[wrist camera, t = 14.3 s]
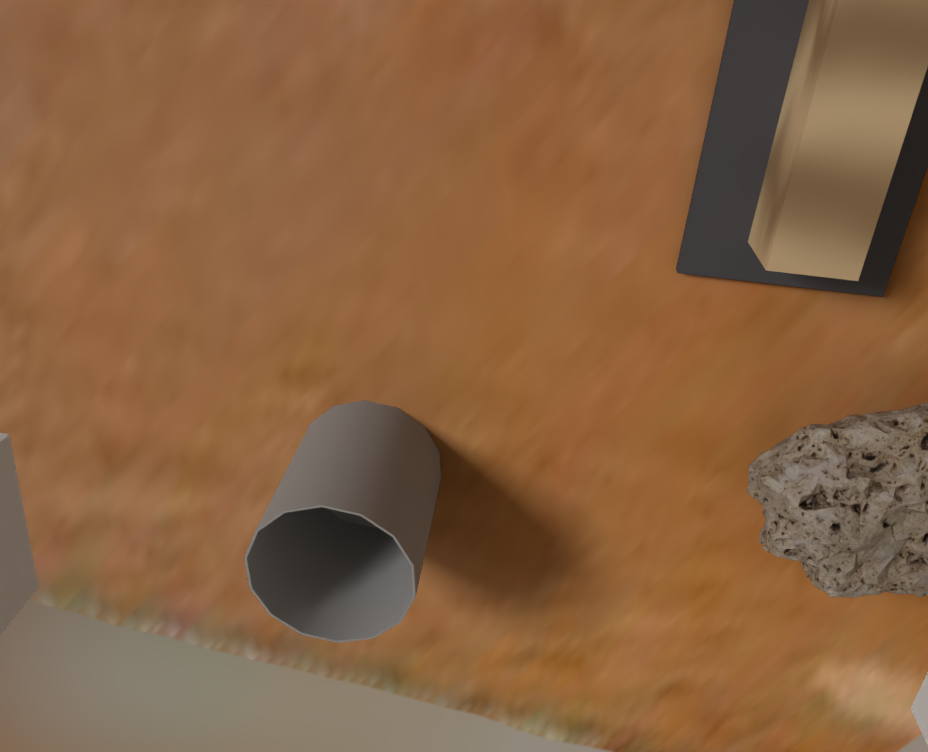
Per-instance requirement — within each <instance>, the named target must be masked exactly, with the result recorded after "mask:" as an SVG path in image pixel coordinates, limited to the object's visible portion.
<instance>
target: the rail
mask: <svg viewBox="0 0 928 752" xmlns="http://www.w3.org/2000/svg"><path fill="white" fill-rule="evenodd" d="M927 67H928V0H809V3H808V7H807V11H806V14H805V18H804V22H803V26H802V30H801V34H800V38H799V42H798V46H797V50H796V54H795V58H794V62H793V66H792V70H791V74H790V78H789V81H788V85H787V89H786V93H785V97H784V101H783V105H782V109H781V113H780V117H779V121H778V125H777V129H776V133H775V137H774V141H773V145H772V148H771V152H770V156H769V160H768V164H767V168H766V172H765V176H764V180H763V184H762V188H761V192H760V196H759V200H758V204H757V208H756V212H755V216H754V219H753V223H752V227H751V231H750V235H749V239H748V243H749V245H750V246H751V248H752V249H753V251H754V252H755V254H756V256H757V257H758V259H759V260H760V262H761V263H762V265H763V267H764V268H765V270H766V271H775V272H784V273H792V274H801V275H810V276H818V277H827V278H835V279H844V280H853V281H858V280H859V277H860V274H861V271H862V268H863V265H864V261H865V258H866V255H867V252H868V249H869V246H870V243H871V240H872V237H873V234H874V231H875V228H876V224H877V221H878V218H879V215H880V212H881V209H882V206H883V203H884V200H885V197H886V194H887V190H888V187H889V184H890V181H891V178H892V175H893V172H894V169H895V166H896V163H897V160H898V157H899V153H900V150H901V147H902V144H903V141H904V138H905V135H906V132H907V129H908V126H909V123H910V120H911V116H912V113H913V110H914V107H915V104H916V101H917V98H918V95H919V92H920V89H921V86H922V82H923V79H924V76H925V73H926V70H927Z"/></svg>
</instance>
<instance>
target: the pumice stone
mask: <svg viewBox="0 0 928 752" xmlns="http://www.w3.org/2000/svg"><path fill="white" fill-rule="evenodd" d="M748 479H749V485H748V487H747V489H746V490H747V492H748V493H749V494H750V496H751V497H752V498H754V499H756V500H757V501H758V502H759V503H760V504H761V505H762V506H763V515H764V517H765V523H764V527H763V528H762V529H761V531H760V539H759V542H760V543H761V544H763V547H762V548H763V549H765V550H766V551H767V552H770V553H772V554H773V555H774V556H778V557H783V558H787V559H792V560H796V561H801V563H802V566H803V569H804V570H805V571H806V574H807V578H808V577H809V576H810V580H811V583H812V584H813V585H814V586H816V587H817V588H818V589H820V590H822V591H824V592H826V593H827V594H828V596H829V597H853V598H855V597H859V596H863V595H878V594H880V593H883V592H885V591H886V592H891V593H895V594H916V595H917V597H921V596H924V595H928V402H927V403H925V404H921V405H914V406H912V407H910V408H907V409H905V410H902V411H896V410H895V411H885V412H876V413H869V414H865V415H862V416H859V415H857V414H854V415H851V416H847V417H845V418H844V419H843V420H839V421H836V422H835V423H833V424H829V425H822V424H814V425H809V426H806V427H804V428H801V429H799V430H797V431H796V433H794V434H793V435H791V436H789V437H787V438H786V439H784V440H783V441H781V442H779V443H778V444H776V445H775V446H774V447H773V448H771V449H770V450H768V451H765V452H763V453H761V454H760V455H759V456H758V457H757V458H756V459H755V460H754V462H753V463H752V464H750V465H749V474H748Z"/></svg>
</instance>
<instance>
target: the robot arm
mask: <svg viewBox="0 0 928 752" xmlns="http://www.w3.org/2000/svg"><path fill="white" fill-rule="evenodd" d="M37 589H38V583H37V577H36V572H35V567H34V562H33V556H32V551H31V546H30V540H29V535H28V530H27V525H26V519H25V514H24V509H23V504H22V498H21V493H20V488H19V482H18V477H17V472H16V467H15V461H14V456H13V451H12V446H11V440H10V435H9V434H4V433H0V635H1V634H2V632H3V631H4V630H5V629H6V627H7V626H8V625H9V624H10V622H11V621H12V620H13V619H14V617H15V616H16V615H17V614H18V612H19V611H20V610H21V609H22V607H23V606H24V605H25V604H26V602H27V601H28V600H29V599H30V598H31V596H32V595H33V594H34V593H35V591H36V590H37ZM911 710H912V712H913V715H914V717H915V719H916V721H917V723H918V725H919V728H920V730H921V732H922V734H923V736H924V738H925V741H926V743H927V745H928V673H927V675H926V677H925V679H924V681H923V683H922V686H921V688H920V690H919V692H918V694H917V696H916V698H915V700H914V703H913V705H912V707H911Z"/></svg>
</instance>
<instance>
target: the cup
mask: <svg viewBox="0 0 928 752" xmlns="http://www.w3.org/2000/svg"><path fill="white" fill-rule="evenodd" d="M440 481H441V471H440V452H439V450H438V449H437V447H436V445H435V444H434V442H433V440H432V438H431V437H430V435H429V433H428V432H427V430H426V428H425V427H424V426H423V425H422V424H420V423H419V422H417V421H416V420H414V419H413V418H412V417H410V416H409V415H407V414H406V413H404V412H403V411H402V410H400V409H399V408H396V407H392V406H388V405H383V404H379V403H374V402H370V401H366V400H364V401H359V402H353V403H348V404H342V405H336V406H333V407H332V408H330V409H329V410H328V411H326V412H325V413H324V414H322V415H321V416H320V417H318V418H317V419H316V420H314V421H313V422H312V423H311V424H310V426H309V427H308V429H307V431H306V433H305V435H304V437H303V439H302V441H301V443H300V445H299V447H298V449H297V451H296V453H295V455H294V457H293V459H292V461H291V463H290V465H289V467H288V468H287V470H286V472H285V474H284V476H283V478H282V480H281V482H280V484H279V486H278V488H277V490H276V492H275V494H274V496H273V498H272V500H271V502H270V504H269V506H268V507H267V509H266V511H265V513H264V515H263V517H262V519H261V521H260V523H259V525H258V527H257V529H256V531H255V533H254V536H253V538H252V541H251V543H250V545H249V548H248V550H247V552H246V555H245V557H244V559H245V565H246V571H247V576H248V582H249V588H250V589H251V591H252V592H253V593H254V595H255V596H256V597H257V599H258V600H259V601H260V603H261V604H262V605H263V607H264V608H265V609H266V610H267V612H268V613H269V614H270V616H272V617H274V618H275V619H277V620H279V621H280V622H282V623H283V624H285V625H287V626H288V627H290V628H292V629H293V630H295V631H297V632H298V633H300V634H301V635H306V636H310V637H315V638H319V639H323V640H328V641H332V642H337V643H340V642H348V641H357V640H365V639H373V638H375V637H377V636H378V635H380V634H382V633H383V632H385V631H387V630H388V629H390V628H392V627H394V626H395V625H397V624H399V623H400V622H401V621H402V619H403V618H404V616H405V614H406V612H407V611H408V609H409V607H410V605H411V604H412V602H413V600H414V598H415V597H416V593H417V588H418V583H419V579H420V574H421V569H422V565H423V560H424V555H425V551H426V546H427V542H428V537H429V532H430V528H431V523H432V518H433V514H434V509H435V504H436V500H437V495H438V491H439V486H440Z"/></svg>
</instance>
